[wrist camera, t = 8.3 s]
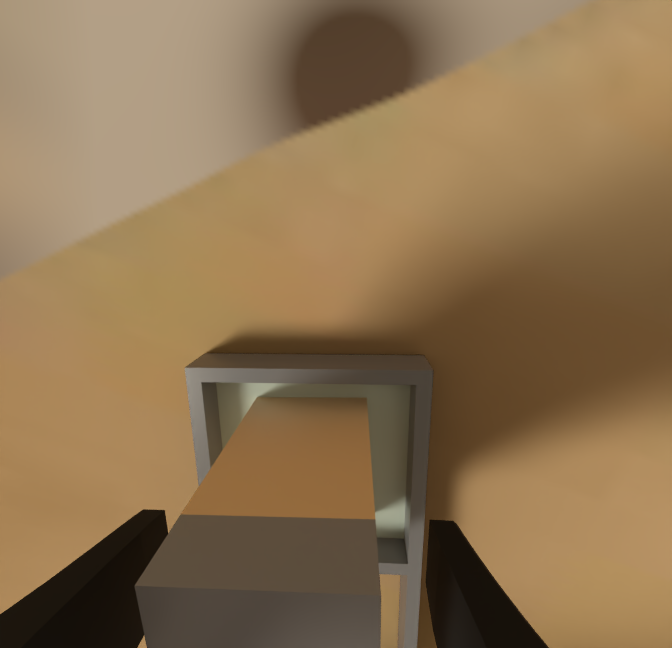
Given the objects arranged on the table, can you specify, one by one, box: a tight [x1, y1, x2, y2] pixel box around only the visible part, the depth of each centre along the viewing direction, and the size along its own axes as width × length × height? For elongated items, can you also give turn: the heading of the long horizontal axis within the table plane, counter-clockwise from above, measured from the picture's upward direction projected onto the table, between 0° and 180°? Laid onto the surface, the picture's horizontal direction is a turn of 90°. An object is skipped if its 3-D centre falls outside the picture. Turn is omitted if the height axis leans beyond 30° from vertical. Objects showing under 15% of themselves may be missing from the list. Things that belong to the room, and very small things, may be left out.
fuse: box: [135, 397, 381, 648], centre depth 9 cm, size 5×4×7 cm
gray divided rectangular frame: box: [185, 353, 433, 648], centre depth 13 cm, size 16×8×2 cm, turn 0°
